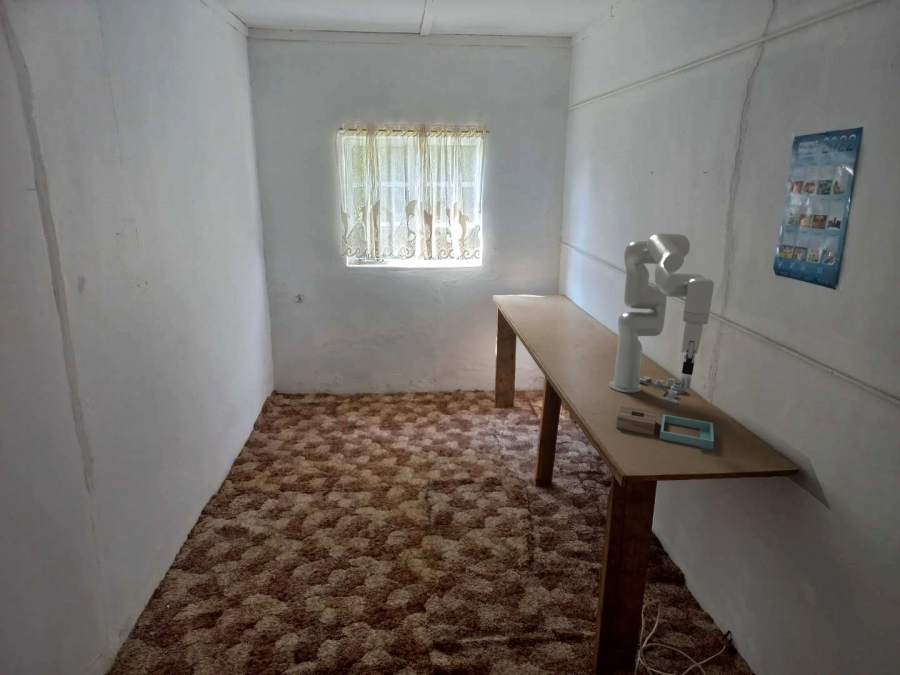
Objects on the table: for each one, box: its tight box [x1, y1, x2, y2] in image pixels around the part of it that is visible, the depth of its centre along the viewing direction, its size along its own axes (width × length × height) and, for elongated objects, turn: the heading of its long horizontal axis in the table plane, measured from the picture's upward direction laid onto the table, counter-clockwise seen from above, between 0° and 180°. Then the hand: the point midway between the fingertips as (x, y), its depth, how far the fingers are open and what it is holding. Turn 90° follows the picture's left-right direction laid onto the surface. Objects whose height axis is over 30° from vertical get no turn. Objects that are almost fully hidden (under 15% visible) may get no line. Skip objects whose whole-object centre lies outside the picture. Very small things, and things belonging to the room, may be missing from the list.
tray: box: [659, 414, 715, 452], centre depth 194 cm, size 16×16×4 cm
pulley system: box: [638, 375, 687, 405], centre depth 236 cm, size 27×5×15 cm
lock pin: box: [679, 353, 696, 390], centre depth 189 cm, size 3×3×11 cm
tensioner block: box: [615, 404, 658, 436], centre depth 199 cm, size 12×12×5 cm
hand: (687, 371), depth 189 cm, fingers closed on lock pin, 3 cm apart
